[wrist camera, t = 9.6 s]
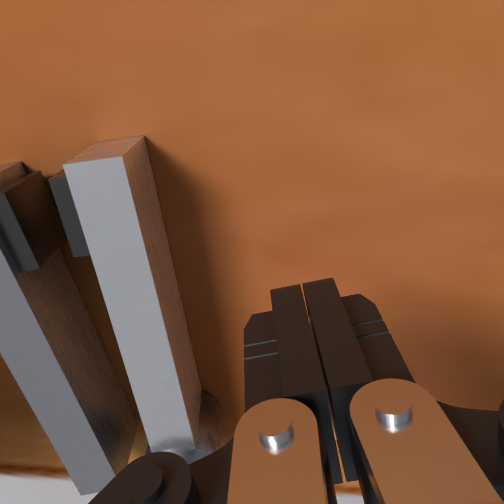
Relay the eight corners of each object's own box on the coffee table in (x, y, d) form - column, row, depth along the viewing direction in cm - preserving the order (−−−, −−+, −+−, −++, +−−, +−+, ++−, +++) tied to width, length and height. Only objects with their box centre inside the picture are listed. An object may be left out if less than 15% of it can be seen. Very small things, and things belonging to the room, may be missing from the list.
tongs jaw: (-25, 172, 19) (-87, 201, 15) (39, 156, 19) (-9, 182, 15) (103, 430, 25) (81, 495, 21) (151, 420, 25) (137, 484, 21)
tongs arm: (77, 145, 18) (31, 172, 14) (163, 132, 18) (142, 156, 14) (163, 441, 25) (149, 518, 21) (225, 432, 25) (224, 508, 21)
